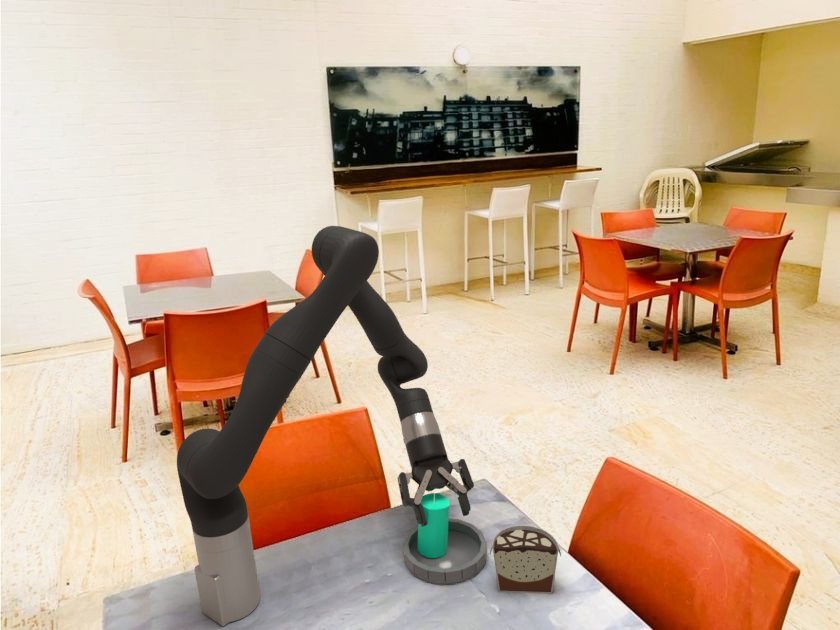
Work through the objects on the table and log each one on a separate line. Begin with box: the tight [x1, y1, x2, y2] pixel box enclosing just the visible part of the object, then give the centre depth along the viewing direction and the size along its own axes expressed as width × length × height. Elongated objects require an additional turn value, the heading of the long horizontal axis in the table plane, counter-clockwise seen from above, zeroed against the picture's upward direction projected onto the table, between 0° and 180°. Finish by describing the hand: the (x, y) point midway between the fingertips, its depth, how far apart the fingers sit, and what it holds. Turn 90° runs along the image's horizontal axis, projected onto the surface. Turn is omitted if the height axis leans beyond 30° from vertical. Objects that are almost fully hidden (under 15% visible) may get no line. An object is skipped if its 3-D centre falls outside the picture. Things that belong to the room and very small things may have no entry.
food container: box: [489, 525, 562, 595], centre depth 108 cm, size 12×6×10 cm, turn 84°
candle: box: [417, 492, 450, 558], centre depth 116 cm, size 6×6×12 cm
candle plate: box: [402, 517, 488, 586], centre depth 116 cm, size 16×16×3 cm
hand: (445, 520), depth 113 cm, fingers open, 8 cm apart
